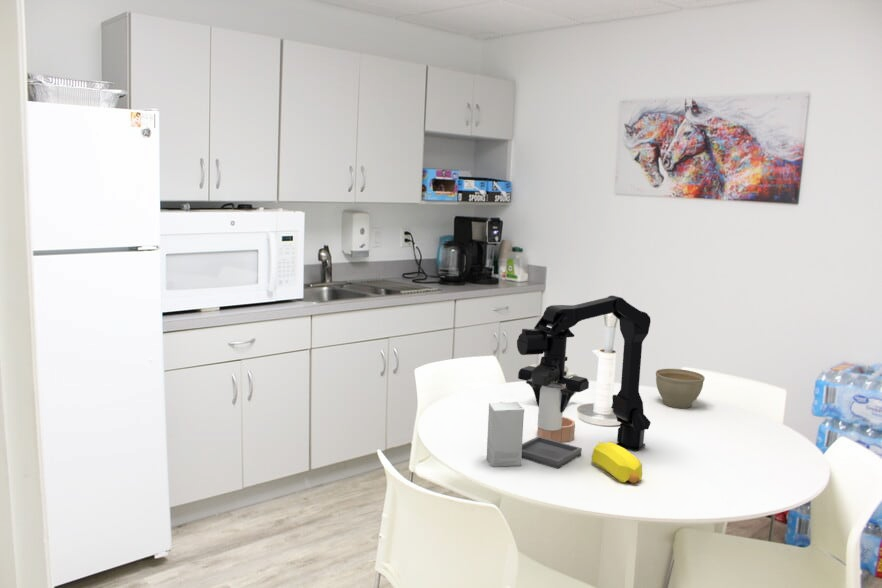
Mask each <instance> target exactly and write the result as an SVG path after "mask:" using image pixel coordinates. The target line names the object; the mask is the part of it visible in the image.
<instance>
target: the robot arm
mask: <svg viewBox="0 0 882 588" xmlns="http://www.w3.org/2000/svg"><path fill="white" fill-rule="evenodd" d="M542 314H543V315H542V316H541V318H540V319H539V320H538V322H537V323H536V325H535V326H534V327H533V329H532V328H522V329H521V333H520V334H519V335H518V338H517V340H516V347H517V351H518V353H519V354H520V355H522V356H528V355H529V356H531V355H532V356H533V355H543V356H541V358H540V365H538V366H537V367H532V366H530V365H527V366H524V367H522V368H520V369H519V370H518V374H517V379H518V380H521V381H525V383H526V384H527V385H529V386H530V388H531V389H532V392H533V394H534V397H535V400H536V404H537V407H538V408H539V398H540V389H541V387H542V386H548V385H549V384H550V383H551V382H555V383H559V384H564V385H565V388H563V389H561V390H560V391H561V393H562V398H561V406H560V412H561V413H562V412H563V413H564V412H565V410H566V408H567V406H568V404H569V402H570V400H571V398H572V397H573V396H574V395H575V394H574V392H576V393H581V392H583V391H586V390H588V389H589V387H590V386H589V385H590V382H589V379H588V378H587V377H583V376H579V375H578V376H574V377H573V376H571V377H569V378H565V377H564V376H566V372H565V371H564V369H565V366H566V362H567V361H568V356H566V355H567V354H566V353H567V352H566V351H567V341H568V340H567V339H568V338H574V337H575V334H574V333H573V332H572V330H570V328H572V327H574V326H576V325H577V324H578V323H579V322H582V321H584V320H589V319H593V318H597V317H600V316H604V315H609V314H612V315H613V316H614V317H615V318H617V319H618V321H619V329H620V333H621V335H622V338H623V353H622V355H623V356H622V365H621V366H622V367H621V382H620V389H619V392H618V393H617V394H613V395H612V403H611V407H610V409H612V413H613V414H614V415H615V417H616V418H615V419H616V421H617V422H619V423H620V424H619V427H618V428H617V435H616V436H617V437H616V441H617V442H616V443H615V444H617V445H619V446H621V447H623V448H624V449H626V450H627V449H628V450H632V451H636V452H637V451H639V450H641V449H642V448H645V447H646V443H644V441H645V440H644V439H645V431H646V430H649V428H650V426H651V424H652V423H651V421H650V420H649V418H648V417H647V416H646V415H645V413H644V402H643V399H642V397H641V394H640V391H639V389H640V379H641V378H640V377H641V364H642V363H641V362H642V354H643V353H642V349H643V342H644V340H645V339H646V337H647V336H648V334H649V331H650V327H651V316H649V314H648V313H647V312H645V311H642V310H639V309H638V308H636V307H635V306H633V305H632V304H630V303H629V302H627V301H626V300H625V299H624V298H623V297H620V296H616V295H608V296H606V297H603V298H599V299H594V300H590V301H587V302H582V303H578V304H574V305H573V304H571V305H569V304H567V305H566V304H552V305H549V306H547V307H546V308H545V310H544V311H543V313H542ZM558 379H559V380H558ZM573 394H574V395H573ZM572 395H573V396H572Z"/></svg>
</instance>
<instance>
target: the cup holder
mask: <svg viewBox="0 0 882 588" xmlns="http://www.w3.org/2000/svg"><path fill="white" fill-rule="evenodd" d="M575 429H576V421H575V420H573V419H572V418H570V417H565V416H562V426H561V429H560V430H558V431H546V430H542V429H540V428H539V427H538V426H537V431H536V433H537V435H536V437H538V436H539V437H543V438H546V439H550V440H554V441H557V442H561V443H568V442H567V441H569V442H571V441H573V440H575V431H576V430H575Z"/></svg>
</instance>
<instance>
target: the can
mask: <svg viewBox="0 0 882 588" xmlns="http://www.w3.org/2000/svg"><path fill="white" fill-rule="evenodd" d="M561 389H563V385H562V384H559V383H555V382H551V383H550V384H549V385H548V386H542V387H541V389H540V398H539V407H538V414H537V428H538V427H539V428H540V429H542V430H546V431H558V430H560V429H561V426H562V417H563V414H564V412H562V413H561V412H560V406H561V398H562V393H561V391H560V390H561Z"/></svg>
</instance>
